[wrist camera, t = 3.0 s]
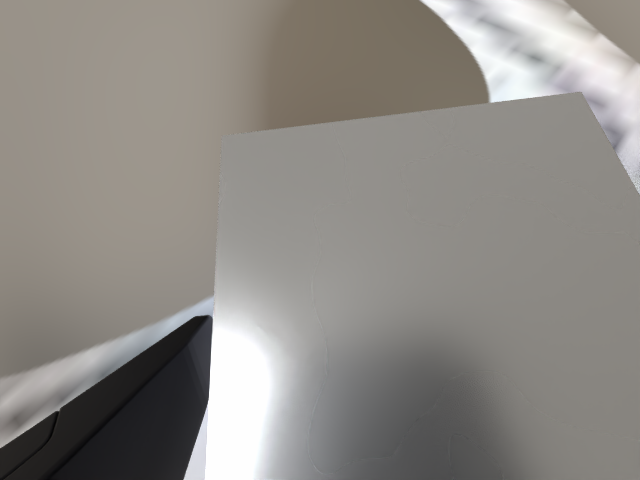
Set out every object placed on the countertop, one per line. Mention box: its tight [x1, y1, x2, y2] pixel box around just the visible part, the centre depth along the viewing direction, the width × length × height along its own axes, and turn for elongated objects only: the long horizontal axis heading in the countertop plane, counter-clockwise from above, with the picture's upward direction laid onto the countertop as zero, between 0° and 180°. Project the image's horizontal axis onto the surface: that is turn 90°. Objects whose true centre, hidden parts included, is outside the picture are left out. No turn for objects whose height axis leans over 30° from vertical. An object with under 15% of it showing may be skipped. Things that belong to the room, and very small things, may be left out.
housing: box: [206, 92, 640, 480], centre depth 9 cm, size 6×5×12 cm
